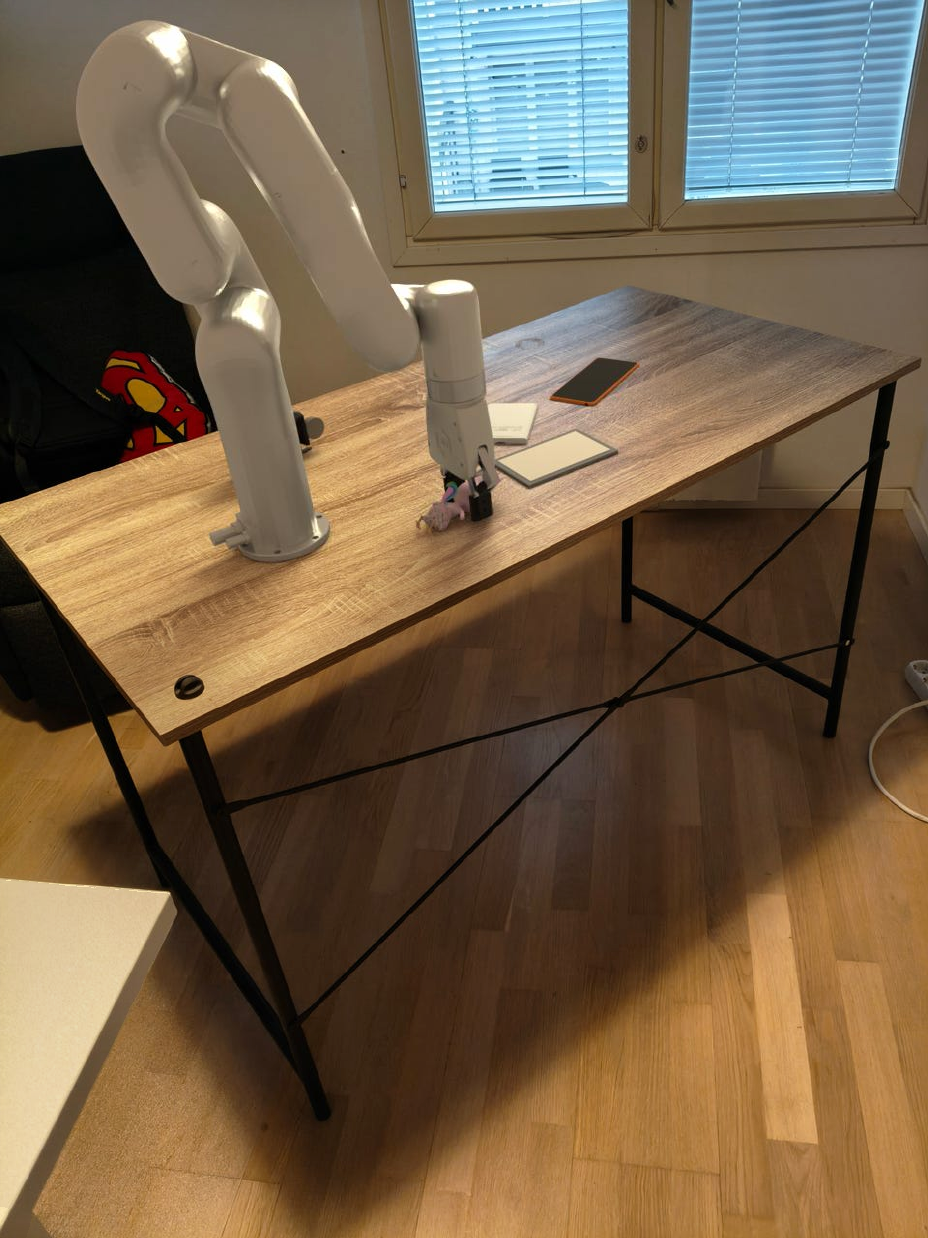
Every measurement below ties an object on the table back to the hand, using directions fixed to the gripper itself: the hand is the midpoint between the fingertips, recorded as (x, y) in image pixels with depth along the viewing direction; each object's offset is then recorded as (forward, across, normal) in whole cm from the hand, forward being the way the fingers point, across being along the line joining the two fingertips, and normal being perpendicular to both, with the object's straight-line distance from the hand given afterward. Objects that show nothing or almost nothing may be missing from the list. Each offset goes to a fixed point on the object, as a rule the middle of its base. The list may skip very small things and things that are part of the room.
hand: (469, 508), depth 130 cm
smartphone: (+1, -23, +40) cm, 46 cm away
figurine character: (+1, -34, -14) cm, 37 cm away
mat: (+1, -5, +18) cm, 19 cm away
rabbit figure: (+1, 0, -1) cm, 1 cm away
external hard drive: (+1, -19, +19) cm, 27 cm away
